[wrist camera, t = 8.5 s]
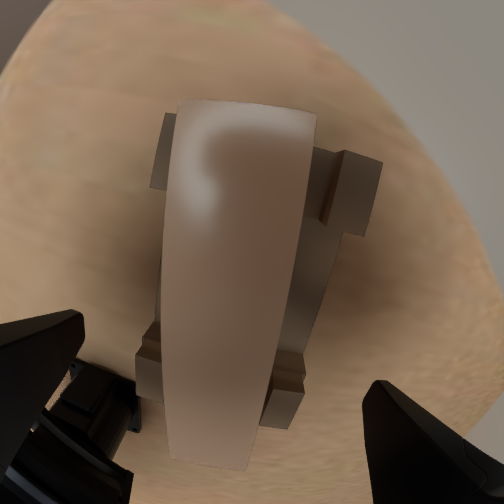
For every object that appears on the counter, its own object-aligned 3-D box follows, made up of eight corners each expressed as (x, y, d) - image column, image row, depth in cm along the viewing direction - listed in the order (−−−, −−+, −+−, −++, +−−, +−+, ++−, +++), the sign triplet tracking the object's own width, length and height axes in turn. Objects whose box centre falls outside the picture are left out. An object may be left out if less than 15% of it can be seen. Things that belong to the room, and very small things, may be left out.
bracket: (287, 379, 18) (291, 429, 13) (157, 349, 18) (132, 393, 13) (354, 166, 14) (388, 164, 10) (189, 128, 14) (159, 112, 10)
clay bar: (251, 402, 15) (245, 471, 10) (191, 392, 15) (170, 458, 10) (296, 138, 11) (317, 113, 6) (213, 127, 11) (179, 98, 6)
